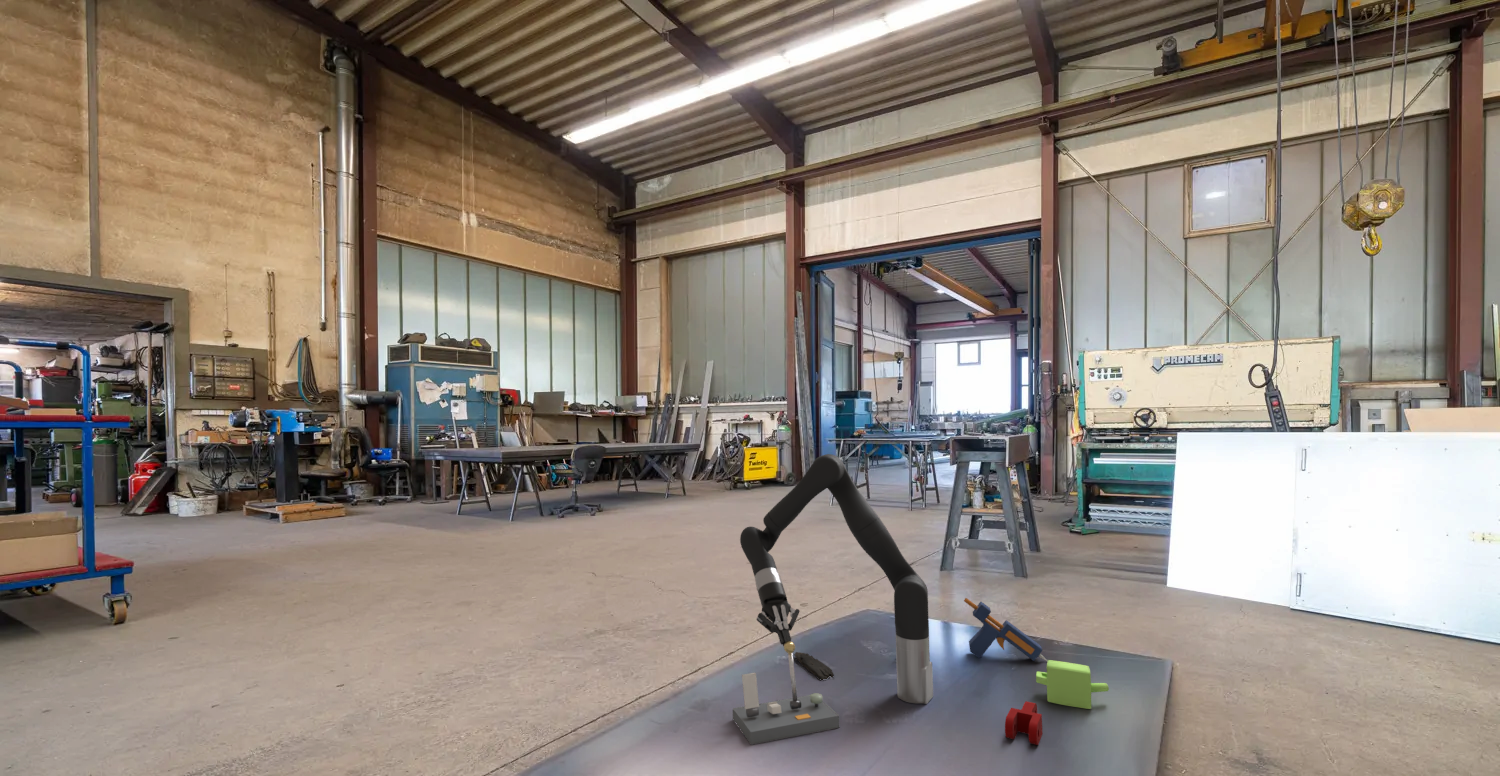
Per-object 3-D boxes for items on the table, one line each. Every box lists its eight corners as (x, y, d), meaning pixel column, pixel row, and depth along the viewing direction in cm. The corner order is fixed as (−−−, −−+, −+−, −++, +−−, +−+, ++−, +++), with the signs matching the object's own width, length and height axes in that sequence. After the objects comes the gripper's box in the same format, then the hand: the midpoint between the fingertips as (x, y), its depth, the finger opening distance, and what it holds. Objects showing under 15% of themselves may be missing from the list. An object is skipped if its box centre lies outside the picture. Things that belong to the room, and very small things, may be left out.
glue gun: (1025, 694, 205) (1054, 658, 203) (943, 633, 211) (970, 597, 209) (1021, 685, 211) (1049, 650, 209) (942, 626, 217) (968, 592, 215)
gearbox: (1108, 700, 177) (1107, 665, 178) (1110, 713, 168) (1109, 676, 169) (1037, 688, 185) (1036, 655, 186) (1036, 700, 176) (1035, 665, 177)
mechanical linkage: (1037, 748, 151) (1036, 727, 151) (1005, 741, 155) (1004, 719, 155) (1047, 722, 164) (1046, 702, 165) (1018, 715, 168) (1017, 696, 168)
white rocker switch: (767, 710, 165) (767, 702, 166) (776, 709, 166) (775, 701, 166) (772, 714, 162) (772, 706, 162) (781, 712, 163) (780, 704, 163)
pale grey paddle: (744, 717, 162) (741, 674, 165) (758, 714, 163) (754, 672, 166) (747, 718, 160) (743, 675, 163) (760, 715, 162) (756, 673, 165)
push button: (808, 704, 169) (808, 694, 169) (819, 702, 170) (819, 692, 170) (813, 709, 166) (813, 699, 166) (824, 707, 167) (824, 697, 167)
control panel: (732, 720, 167) (732, 707, 168) (815, 705, 176) (815, 693, 176) (751, 744, 154) (750, 731, 154) (839, 727, 162) (839, 714, 163)
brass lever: (788, 708, 167) (781, 641, 171) (799, 706, 168) (791, 640, 172) (793, 710, 164) (785, 642, 169) (803, 708, 165) (796, 640, 170)
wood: (842, 679, 195) (842, 669, 195) (821, 682, 192) (821, 672, 192) (810, 655, 215) (810, 646, 215) (790, 658, 212) (790, 649, 213)
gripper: (751, 582, 180) (767, 640, 167) (794, 578, 184) (813, 634, 172) (745, 597, 184) (760, 654, 172) (787, 592, 189) (805, 648, 176)
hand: (786, 644), depth 172 cm, fingers closed
